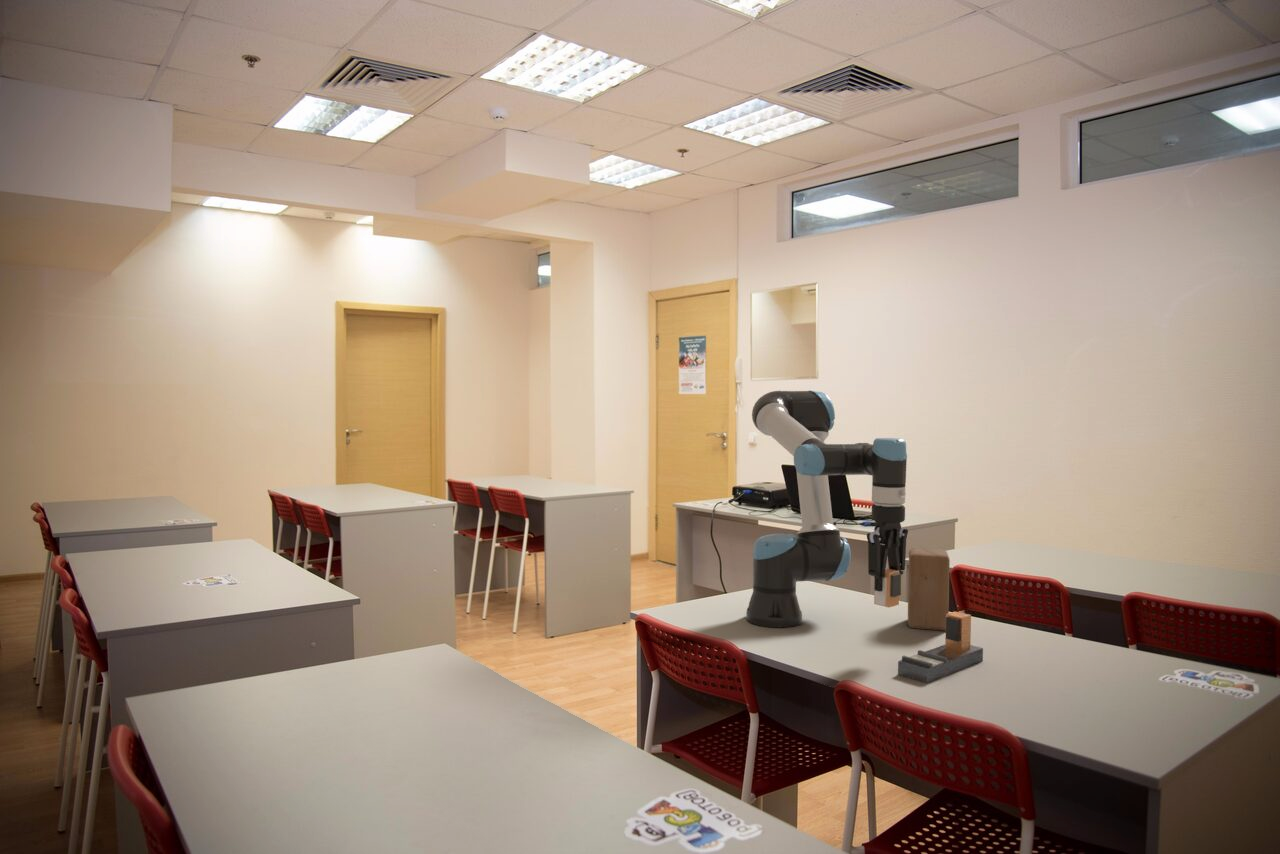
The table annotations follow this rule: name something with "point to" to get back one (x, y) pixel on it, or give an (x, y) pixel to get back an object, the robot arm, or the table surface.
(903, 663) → the rail
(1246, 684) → the table surface
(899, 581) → the tall peach prism
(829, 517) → the robot arm
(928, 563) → the wooden block
